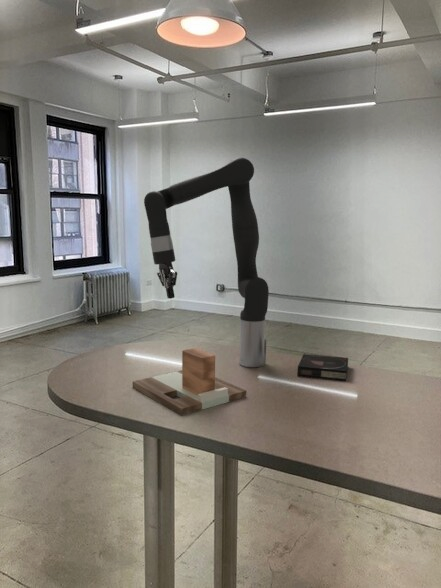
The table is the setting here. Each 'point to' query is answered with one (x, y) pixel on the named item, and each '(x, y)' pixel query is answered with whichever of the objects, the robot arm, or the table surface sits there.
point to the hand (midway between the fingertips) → (171, 298)
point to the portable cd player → (323, 367)
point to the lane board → (186, 393)
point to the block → (198, 371)
